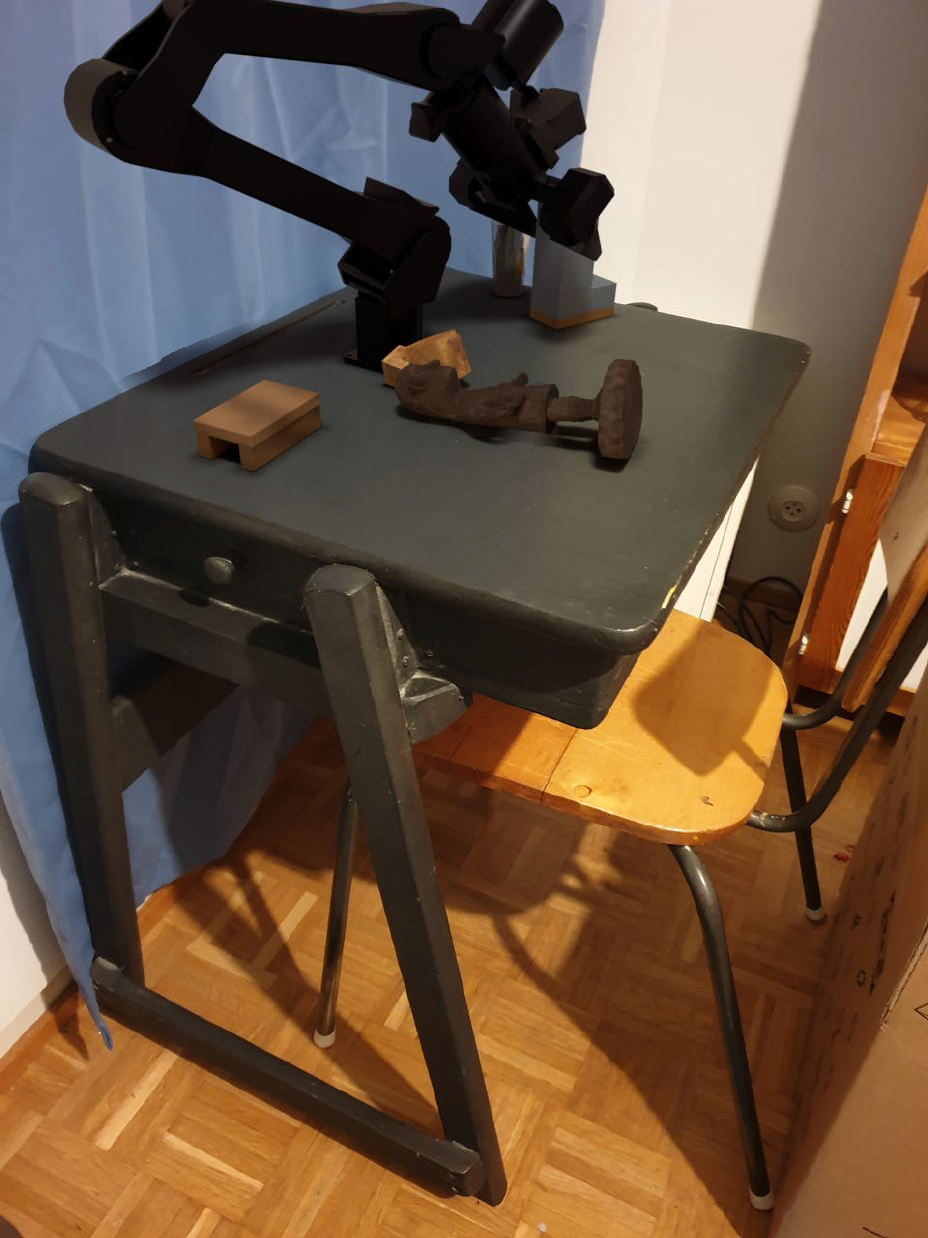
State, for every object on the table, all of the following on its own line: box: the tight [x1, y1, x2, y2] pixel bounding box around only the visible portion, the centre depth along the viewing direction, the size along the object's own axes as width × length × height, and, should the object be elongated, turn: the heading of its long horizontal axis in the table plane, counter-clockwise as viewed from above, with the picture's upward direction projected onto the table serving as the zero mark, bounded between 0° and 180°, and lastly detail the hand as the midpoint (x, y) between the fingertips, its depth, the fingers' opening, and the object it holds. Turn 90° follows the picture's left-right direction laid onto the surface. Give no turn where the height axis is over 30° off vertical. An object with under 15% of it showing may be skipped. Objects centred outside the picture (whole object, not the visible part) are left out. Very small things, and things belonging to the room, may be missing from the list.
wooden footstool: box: [192, 379, 322, 473], centre depth 73 cm, size 9×5×3 cm, turn 153°
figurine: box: [394, 358, 644, 460], centre depth 75 cm, size 9×8×20 cm
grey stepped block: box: [529, 201, 618, 330], centre depth 96 cm, size 8×4×12 cm, turn 126°
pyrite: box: [382, 328, 473, 388], centre depth 82 cm, size 5×7×4 cm
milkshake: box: [490, 206, 538, 298], centre depth 102 cm, size 4×5×10 cm
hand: (567, 245), depth 94 cm, fingers open, 9 cm apart
